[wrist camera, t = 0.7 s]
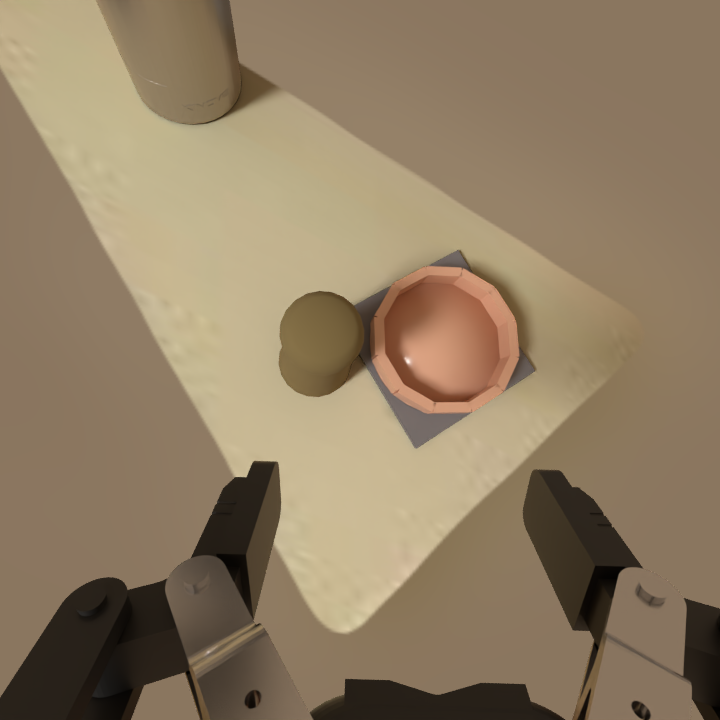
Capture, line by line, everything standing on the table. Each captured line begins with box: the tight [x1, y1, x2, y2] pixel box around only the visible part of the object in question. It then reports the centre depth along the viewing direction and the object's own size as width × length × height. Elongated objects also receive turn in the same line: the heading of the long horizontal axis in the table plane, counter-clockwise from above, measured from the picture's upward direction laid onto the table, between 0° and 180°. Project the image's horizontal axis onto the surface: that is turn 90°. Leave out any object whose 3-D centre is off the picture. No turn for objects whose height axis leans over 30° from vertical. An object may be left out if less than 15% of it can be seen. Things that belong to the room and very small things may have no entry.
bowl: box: [370, 266, 519, 414], centre depth 35 cm, size 12×12×2 cm
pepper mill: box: [279, 291, 364, 397], centre depth 29 cm, size 6×6×11 cm
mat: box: [354, 250, 535, 448], centre depth 36 cm, size 13×13×1 cm
